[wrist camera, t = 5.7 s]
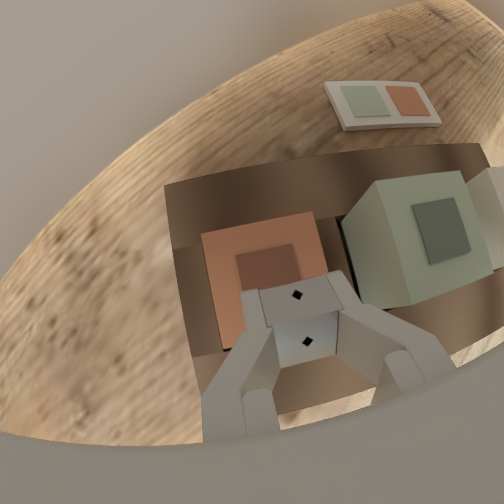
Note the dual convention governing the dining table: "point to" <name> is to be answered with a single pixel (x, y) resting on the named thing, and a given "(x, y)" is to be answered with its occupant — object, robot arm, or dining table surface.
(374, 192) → the key sage
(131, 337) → the dining table surface
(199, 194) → the keypad base
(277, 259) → the key rust
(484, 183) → the key ivory
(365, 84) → the tile
